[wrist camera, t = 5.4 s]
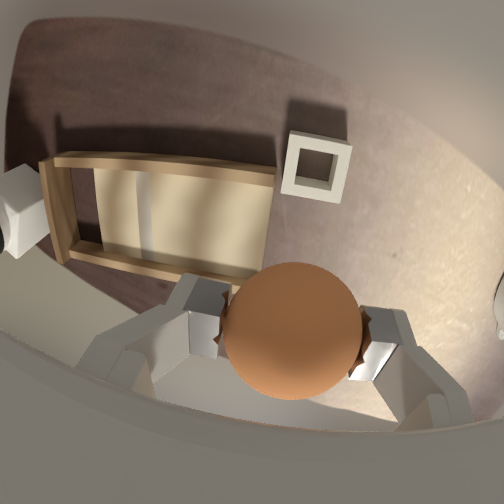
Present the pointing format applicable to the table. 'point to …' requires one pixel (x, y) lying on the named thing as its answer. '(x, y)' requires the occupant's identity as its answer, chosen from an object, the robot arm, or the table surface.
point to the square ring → (315, 187)
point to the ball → (293, 331)
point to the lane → (164, 213)
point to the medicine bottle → (21, 210)
